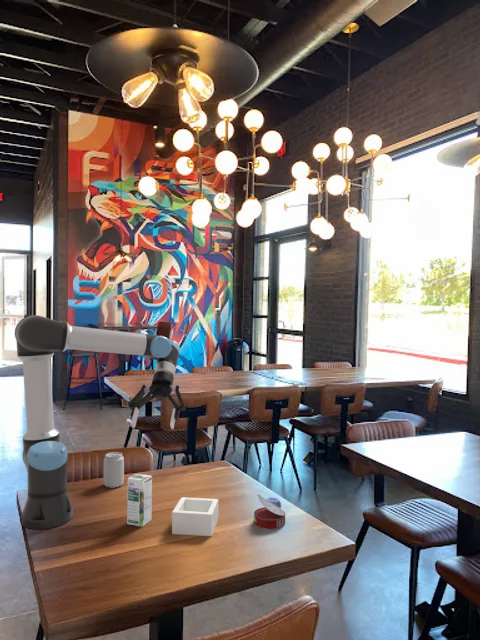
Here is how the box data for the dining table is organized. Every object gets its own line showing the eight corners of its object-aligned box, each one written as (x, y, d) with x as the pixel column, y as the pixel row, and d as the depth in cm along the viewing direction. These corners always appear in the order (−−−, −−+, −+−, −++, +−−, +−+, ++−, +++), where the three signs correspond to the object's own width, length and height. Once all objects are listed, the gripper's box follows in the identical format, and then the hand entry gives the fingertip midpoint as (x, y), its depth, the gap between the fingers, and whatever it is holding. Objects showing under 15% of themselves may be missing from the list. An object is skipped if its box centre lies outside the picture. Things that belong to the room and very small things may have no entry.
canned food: (262, 530, 160) (267, 498, 164) (289, 535, 154) (294, 502, 158) (243, 524, 152) (249, 491, 156) (271, 529, 146) (276, 494, 150)
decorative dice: (273, 515, 161) (273, 502, 161) (264, 511, 163) (264, 499, 163) (281, 511, 164) (281, 499, 164) (271, 508, 166) (271, 496, 166)
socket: (211, 536, 145) (211, 514, 145) (172, 533, 146) (172, 512, 146) (218, 519, 157) (218, 499, 157) (181, 517, 158) (181, 497, 158)
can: (112, 490, 182) (112, 458, 182) (99, 485, 186) (99, 454, 186) (128, 484, 188) (128, 453, 188) (115, 480, 192) (115, 450, 192)
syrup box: (126, 524, 153) (126, 478, 152) (137, 517, 158) (137, 472, 158) (142, 527, 150) (142, 480, 150) (152, 520, 156) (152, 474, 156)
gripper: (198, 383, 183) (189, 433, 168) (133, 382, 186) (119, 431, 171) (195, 370, 178) (186, 421, 163) (128, 369, 180) (113, 419, 166)
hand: (152, 426), depth 167 cm, fingers open, 13 cm apart
